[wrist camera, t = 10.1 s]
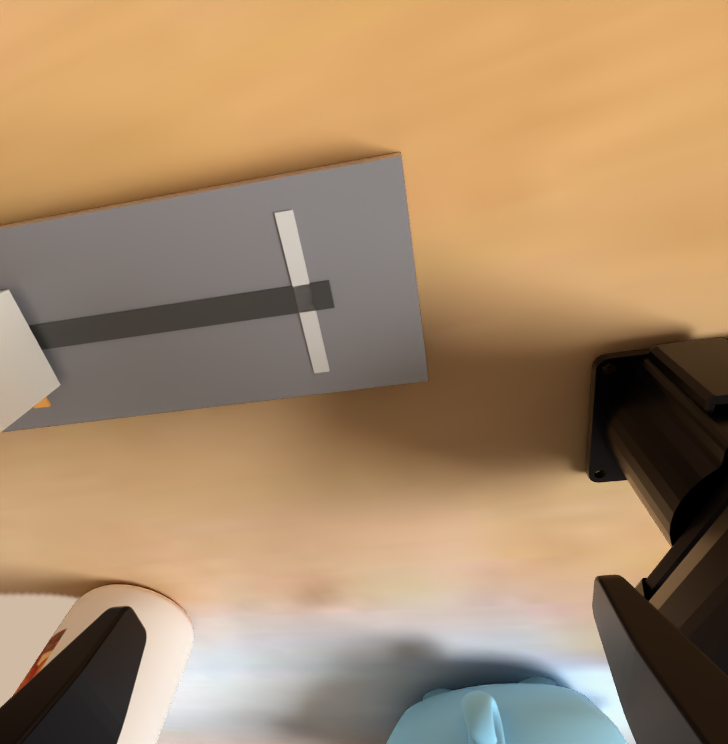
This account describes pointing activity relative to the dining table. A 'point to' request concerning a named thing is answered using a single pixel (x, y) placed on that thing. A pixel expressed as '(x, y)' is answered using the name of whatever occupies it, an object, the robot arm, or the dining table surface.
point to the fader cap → (20, 365)
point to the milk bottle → (159, 661)
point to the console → (222, 294)
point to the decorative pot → (506, 716)
